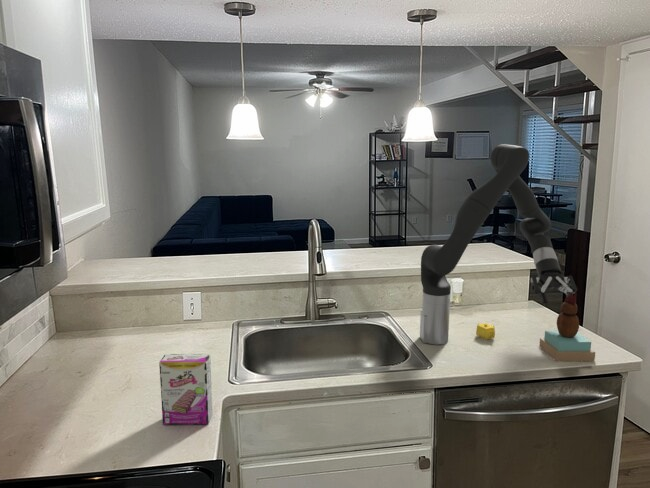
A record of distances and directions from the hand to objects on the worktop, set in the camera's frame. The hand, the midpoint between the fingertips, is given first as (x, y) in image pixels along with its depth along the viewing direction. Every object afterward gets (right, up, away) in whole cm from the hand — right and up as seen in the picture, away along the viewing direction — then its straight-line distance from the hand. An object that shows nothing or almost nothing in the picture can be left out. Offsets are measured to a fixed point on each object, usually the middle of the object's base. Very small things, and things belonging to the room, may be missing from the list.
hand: (558, 304), depth 163 cm
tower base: (0, -16, -5) cm, 16 cm away
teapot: (-21, -13, +9) cm, 26 cm away
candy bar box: (-112, -23, -44) cm, 122 cm away
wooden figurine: (0, -10, -6) cm, 11 cm away
